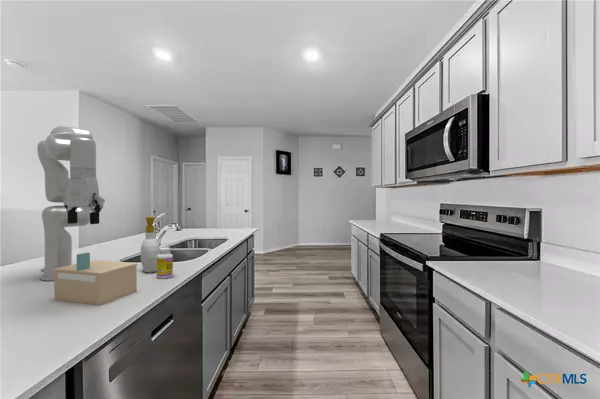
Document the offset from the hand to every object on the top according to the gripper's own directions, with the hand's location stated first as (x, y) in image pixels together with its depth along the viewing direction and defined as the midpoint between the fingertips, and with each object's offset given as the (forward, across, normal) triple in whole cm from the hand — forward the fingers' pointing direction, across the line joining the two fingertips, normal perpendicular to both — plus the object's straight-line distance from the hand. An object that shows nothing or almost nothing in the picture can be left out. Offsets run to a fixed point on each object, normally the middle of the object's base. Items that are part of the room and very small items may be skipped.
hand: (83, 223), depth 111 cm
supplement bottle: (+27, +6, +35) cm, 44 cm away
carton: (+27, 0, +6) cm, 27 cm away
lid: (+16, 0, +6) cm, 17 cm away
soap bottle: (+26, -8, +43) cm, 51 cm away
